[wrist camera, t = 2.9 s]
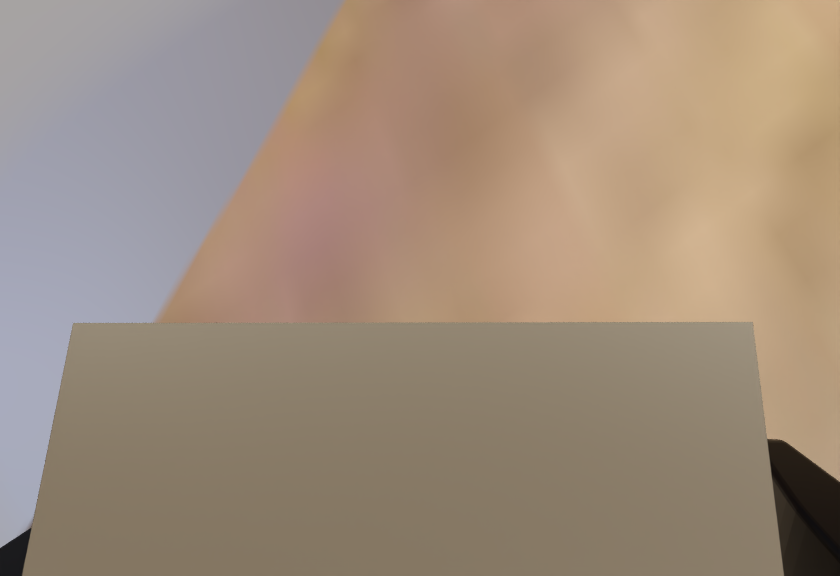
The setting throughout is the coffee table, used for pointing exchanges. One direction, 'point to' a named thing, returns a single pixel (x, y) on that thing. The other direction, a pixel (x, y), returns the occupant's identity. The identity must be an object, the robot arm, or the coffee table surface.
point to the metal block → (408, 451)
